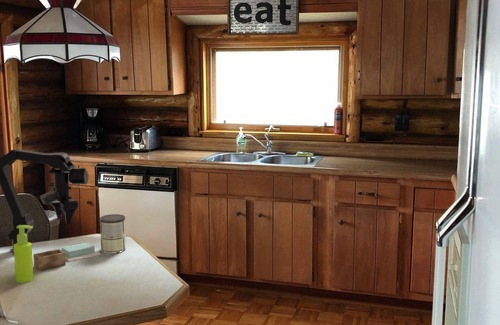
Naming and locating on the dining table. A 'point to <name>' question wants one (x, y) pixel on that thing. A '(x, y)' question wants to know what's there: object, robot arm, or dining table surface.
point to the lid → (78, 250)
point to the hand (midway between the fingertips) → (63, 221)
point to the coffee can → (112, 233)
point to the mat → (81, 256)
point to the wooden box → (49, 259)
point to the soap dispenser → (23, 256)
